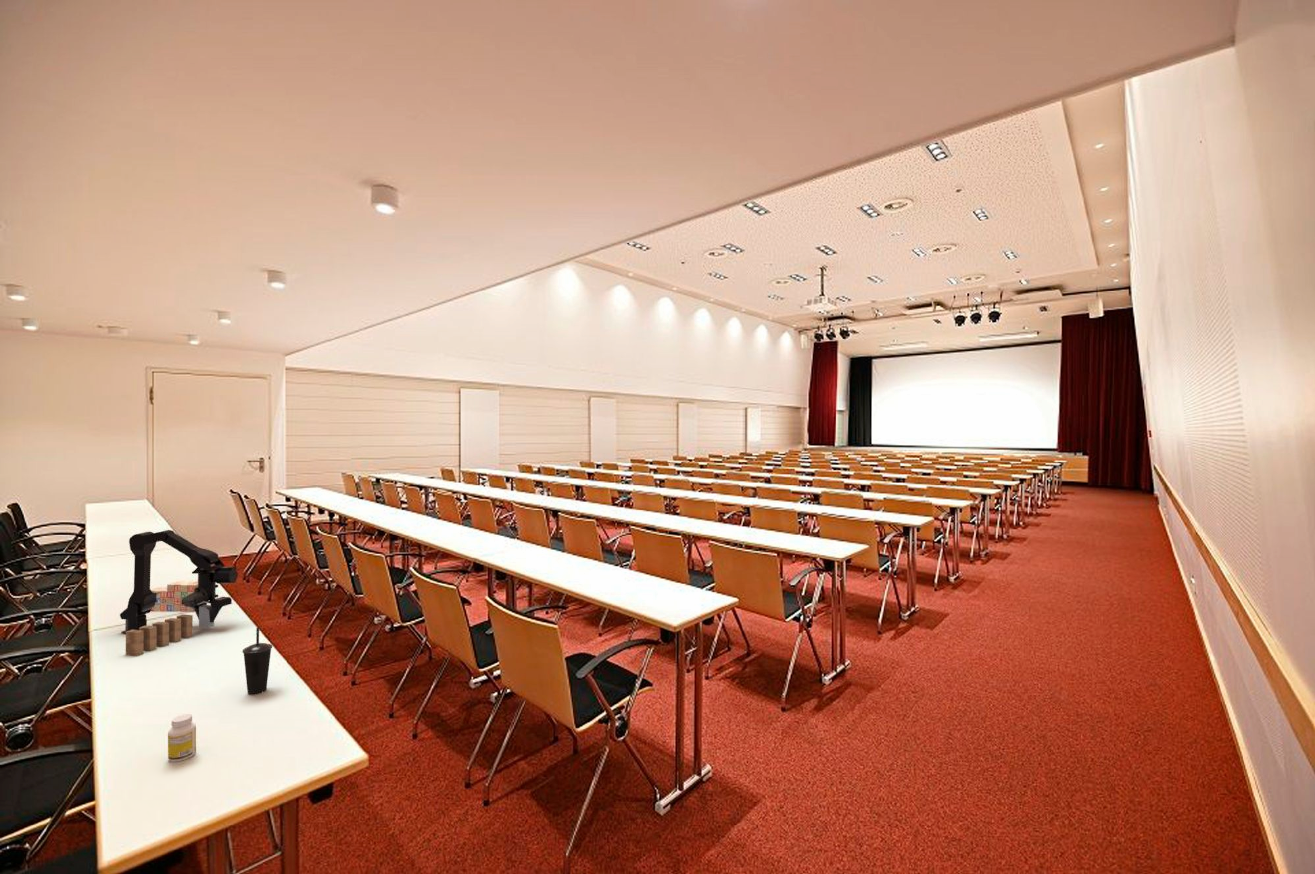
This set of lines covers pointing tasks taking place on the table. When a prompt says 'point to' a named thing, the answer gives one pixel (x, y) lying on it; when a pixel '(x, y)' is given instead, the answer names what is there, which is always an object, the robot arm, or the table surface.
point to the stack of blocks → (174, 596)
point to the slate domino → (204, 617)
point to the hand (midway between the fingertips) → (206, 621)
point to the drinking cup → (257, 665)
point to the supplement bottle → (181, 738)
